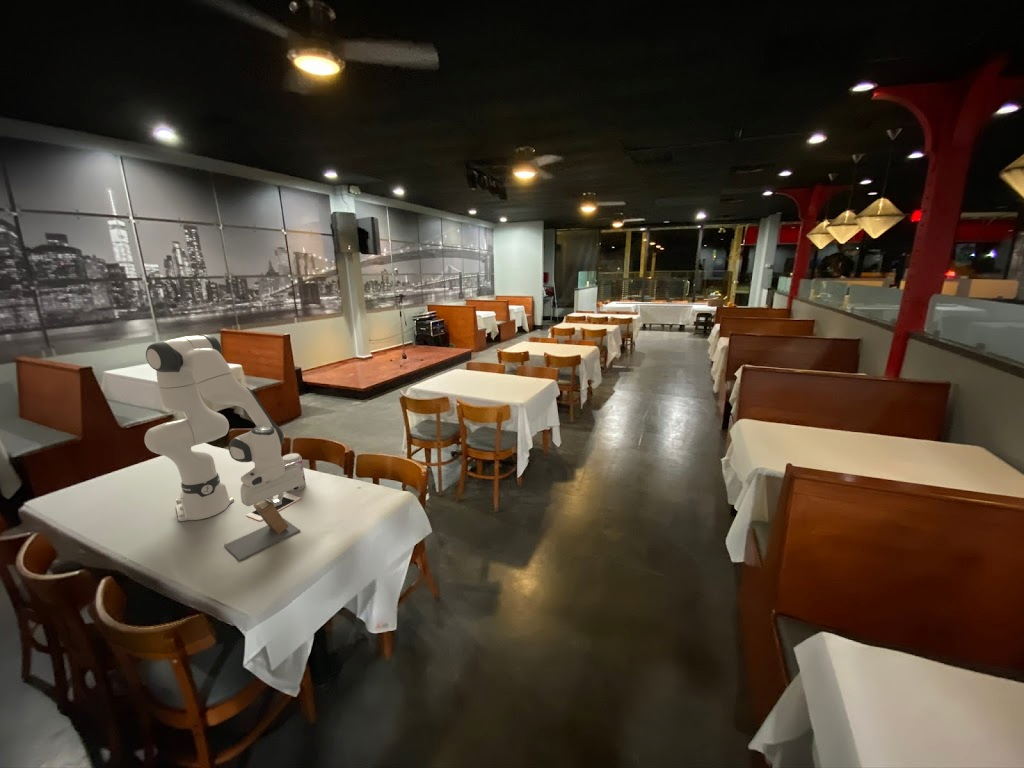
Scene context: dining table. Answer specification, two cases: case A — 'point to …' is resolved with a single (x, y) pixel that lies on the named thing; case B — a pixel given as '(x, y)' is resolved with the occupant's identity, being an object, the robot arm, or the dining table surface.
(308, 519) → the dining table surface
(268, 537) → the rubber mat
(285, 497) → the cell phone
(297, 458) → the supplement can
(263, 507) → the walnut block
